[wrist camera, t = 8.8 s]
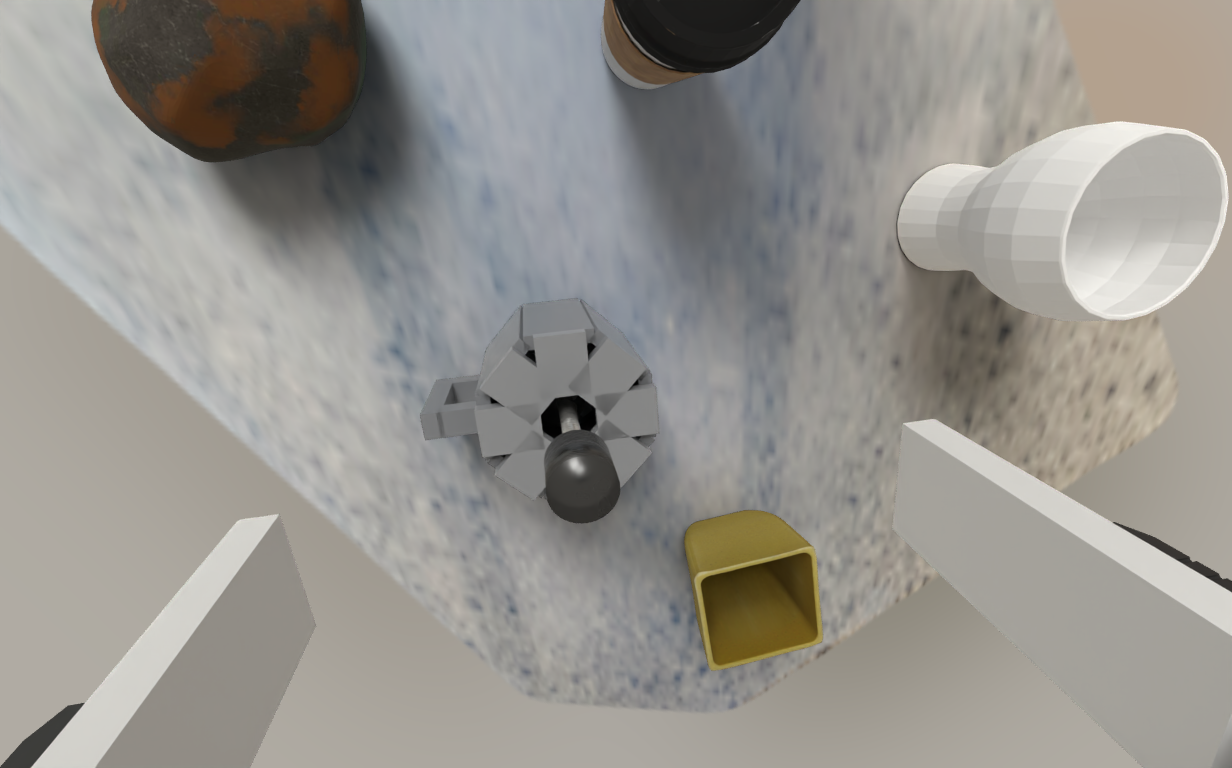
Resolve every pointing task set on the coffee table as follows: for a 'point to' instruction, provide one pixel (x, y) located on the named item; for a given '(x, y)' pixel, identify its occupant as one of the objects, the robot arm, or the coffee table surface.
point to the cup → (1076, 220)
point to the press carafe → (549, 393)
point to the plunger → (577, 463)
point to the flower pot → (752, 588)
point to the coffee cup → (685, 36)
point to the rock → (234, 70)
